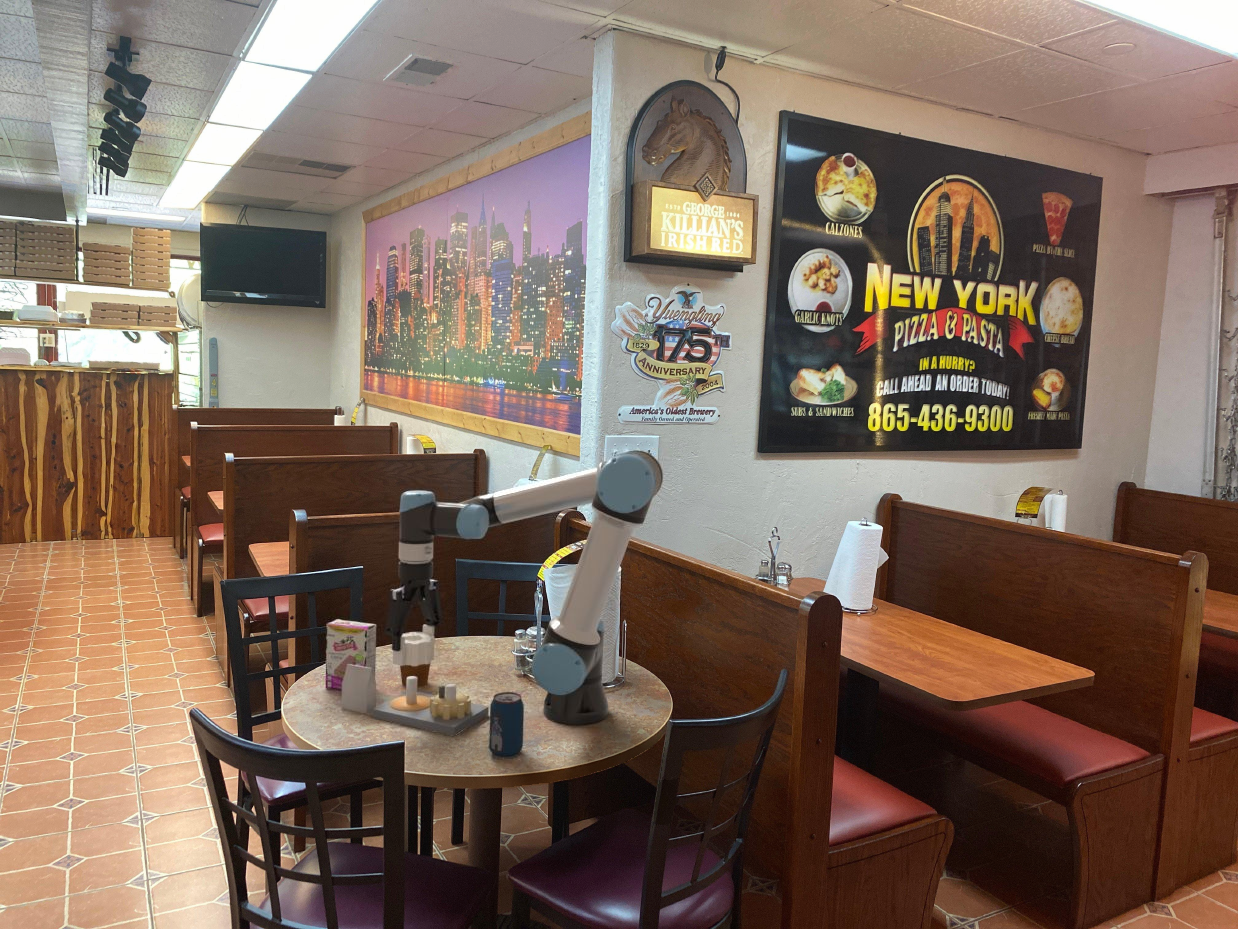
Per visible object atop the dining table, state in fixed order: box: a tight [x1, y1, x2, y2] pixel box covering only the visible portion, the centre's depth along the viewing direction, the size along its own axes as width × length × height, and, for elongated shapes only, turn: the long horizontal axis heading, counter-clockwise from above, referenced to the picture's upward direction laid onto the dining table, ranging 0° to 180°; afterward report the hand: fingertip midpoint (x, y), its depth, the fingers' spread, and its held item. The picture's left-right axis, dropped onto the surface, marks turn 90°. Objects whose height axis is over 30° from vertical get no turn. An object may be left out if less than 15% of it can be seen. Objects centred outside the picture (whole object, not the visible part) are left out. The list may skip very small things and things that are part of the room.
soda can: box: [488, 691, 525, 760], centre depth 182 cm, size 7×7×12 cm
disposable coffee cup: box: [399, 631, 431, 688], centre depth 221 cm, size 10×10×12 cm
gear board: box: [370, 676, 490, 737], centre depth 200 cm, size 22×14×8 cm, turn 67°
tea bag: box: [341, 664, 377, 714], centre depth 203 cm, size 4×7×10 cm, turn 70°
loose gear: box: [402, 631, 436, 666], centre depth 198 cm, size 9×9×5 cm
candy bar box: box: [325, 618, 377, 692], centre depth 215 cm, size 11×5×16 cm, turn 76°
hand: (413, 658), depth 198 cm, fingers closed on loose gear, 9 cm apart
